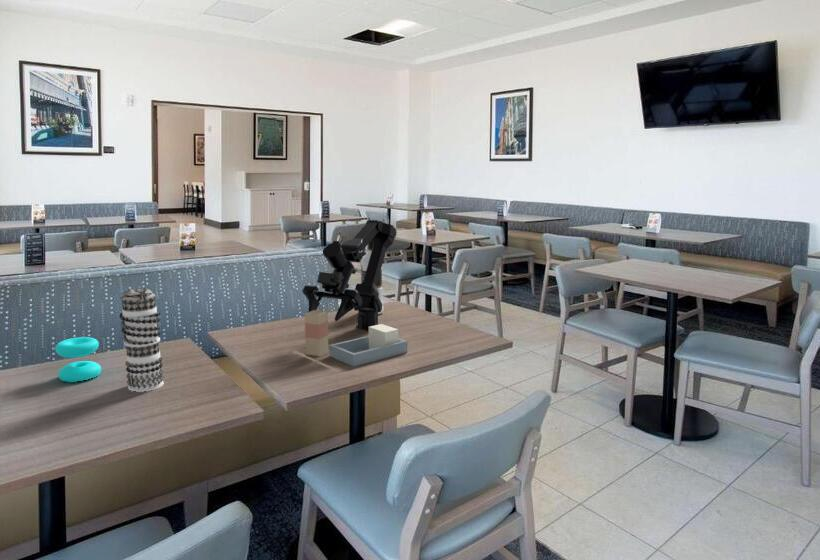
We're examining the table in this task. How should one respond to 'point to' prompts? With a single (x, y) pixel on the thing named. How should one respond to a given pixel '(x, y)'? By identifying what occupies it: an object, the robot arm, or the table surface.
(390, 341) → the cream rectangular block
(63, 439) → the table surface
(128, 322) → the decorative candle
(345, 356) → the tote
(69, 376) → the donuts
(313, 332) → the oat carton
